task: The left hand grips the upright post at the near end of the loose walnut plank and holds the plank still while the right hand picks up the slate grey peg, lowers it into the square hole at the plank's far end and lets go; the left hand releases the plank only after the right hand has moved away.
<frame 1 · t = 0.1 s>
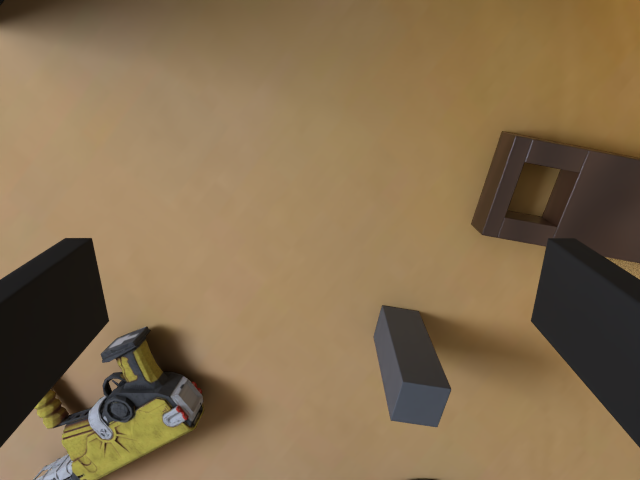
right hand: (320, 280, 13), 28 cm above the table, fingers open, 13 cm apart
grey peg: (395, 324, 45), on the table
toy gun: (94, 396, 49), on the table
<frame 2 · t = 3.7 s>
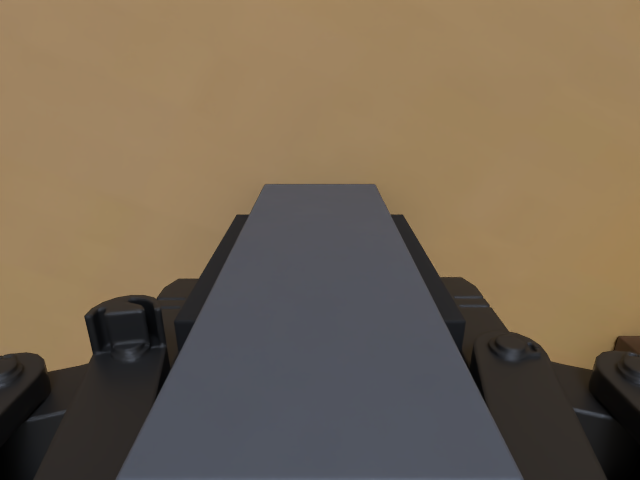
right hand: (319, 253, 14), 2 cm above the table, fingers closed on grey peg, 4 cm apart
grey peg: (319, 235, 16), on the table, touching right hand
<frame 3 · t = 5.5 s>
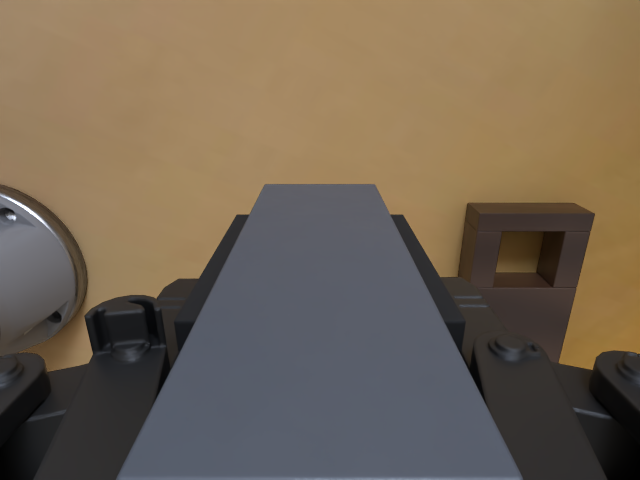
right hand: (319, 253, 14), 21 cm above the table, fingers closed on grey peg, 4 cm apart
walnut plank: (492, 360, 42), on the table, touching left hand
grey peg: (319, 235, 16), point 20 cm above the table, touching right hand
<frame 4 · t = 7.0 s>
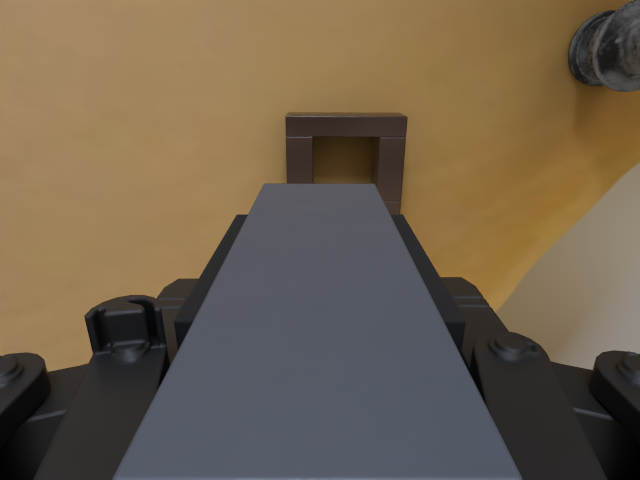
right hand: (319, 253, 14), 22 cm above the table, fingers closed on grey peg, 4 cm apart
walnut plank: (339, 290, 40), on the table, touching left hand
grey peg: (319, 235, 16), point 21 cm above the table, touching right hand
grey chess piece: (602, 49, 33), on the table
when the right hand's fingers open (4 cm above the table, at t = 10.5 s): grey peg drops 3 cm, resting in walnut plank.
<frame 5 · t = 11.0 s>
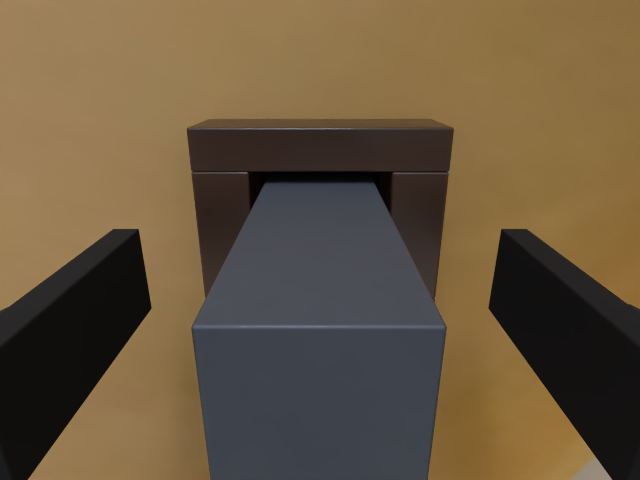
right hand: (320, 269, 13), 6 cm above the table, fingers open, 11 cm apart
walnut plank: (320, 427, 23), on the table, touching left hand
grey peg: (319, 213, 18), resting in walnut plank
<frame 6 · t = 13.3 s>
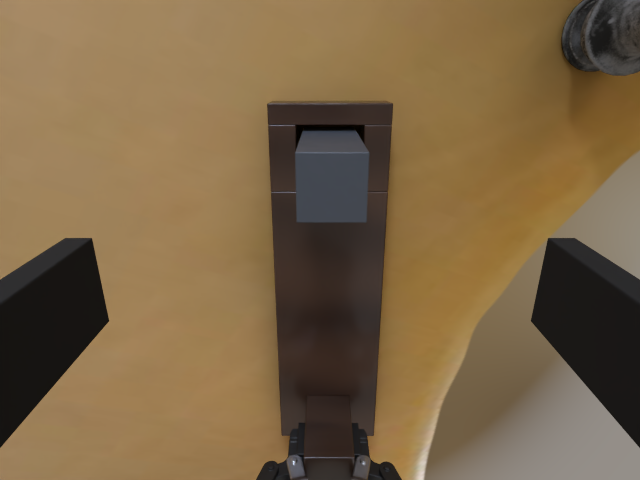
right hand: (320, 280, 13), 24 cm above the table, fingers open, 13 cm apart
walnut plank: (328, 284, 39), on the table, touching left hand
grey peg: (328, 152, 35), resting in walnut plank
grey chess piece: (596, 33, 31), on the table
when the left hand's fingers open (5 cm above the table, at t = 15.1 s): walnut plank stays where it is, on the table.
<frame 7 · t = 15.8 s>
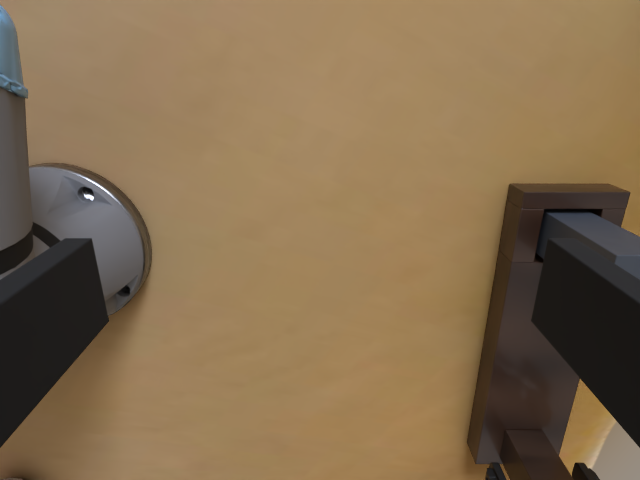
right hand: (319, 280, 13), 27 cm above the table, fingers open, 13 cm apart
walnut plank: (527, 333, 44), on the table
grey peg: (549, 224, 40), resting in walnut plank
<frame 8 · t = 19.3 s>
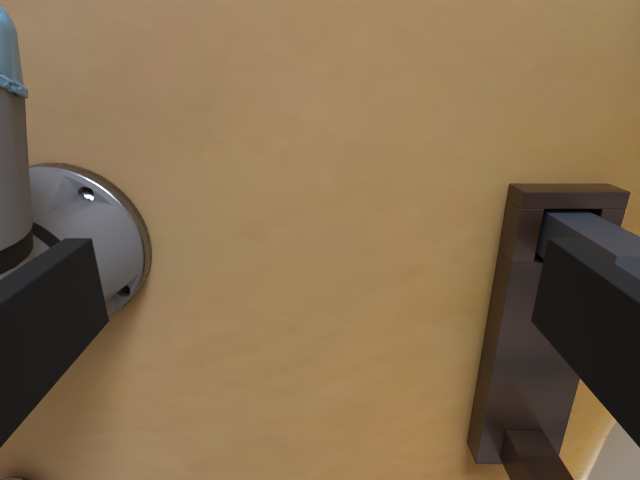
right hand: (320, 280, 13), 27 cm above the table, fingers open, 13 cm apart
walnut plank: (527, 333, 44), on the table
grey peg: (549, 224, 40), resting in walnut plank
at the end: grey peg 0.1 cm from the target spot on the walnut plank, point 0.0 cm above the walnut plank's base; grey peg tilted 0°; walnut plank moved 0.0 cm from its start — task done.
